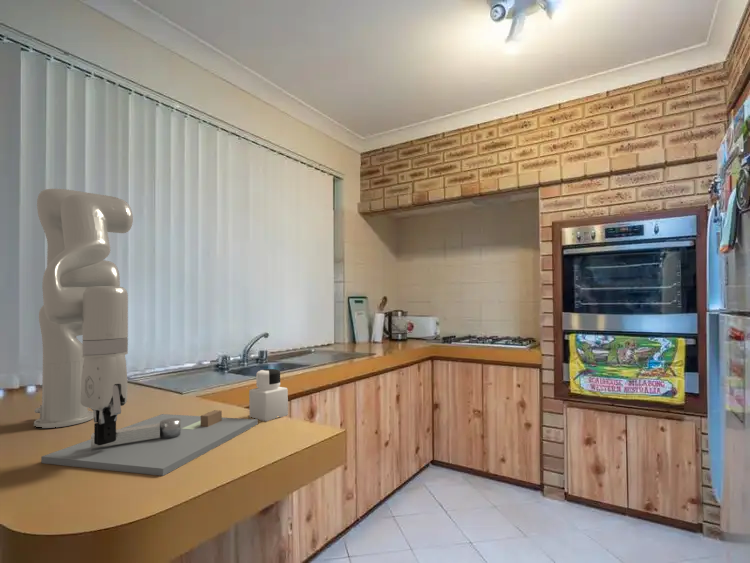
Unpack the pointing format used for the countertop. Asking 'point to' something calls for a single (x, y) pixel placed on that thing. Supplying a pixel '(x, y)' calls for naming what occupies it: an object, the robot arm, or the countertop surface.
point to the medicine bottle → (268, 396)
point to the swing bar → (145, 432)
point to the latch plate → (156, 446)
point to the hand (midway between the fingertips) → (105, 442)
